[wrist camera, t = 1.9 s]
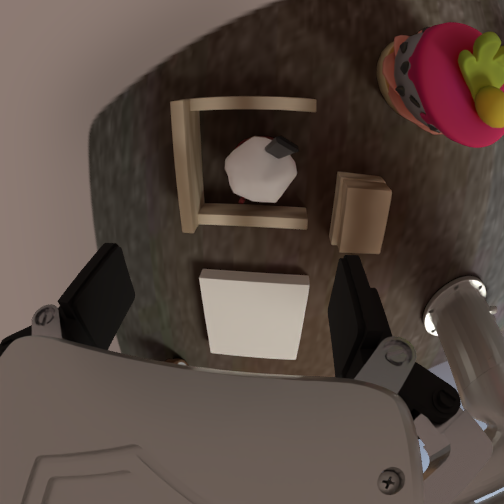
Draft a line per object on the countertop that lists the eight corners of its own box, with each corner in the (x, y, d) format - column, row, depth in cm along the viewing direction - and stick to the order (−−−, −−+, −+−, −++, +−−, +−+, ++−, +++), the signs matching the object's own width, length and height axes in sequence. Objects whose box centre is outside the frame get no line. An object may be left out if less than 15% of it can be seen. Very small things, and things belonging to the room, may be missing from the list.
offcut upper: (384, 182, 26) (392, 191, 24) (374, 242, 30) (379, 254, 28) (343, 179, 27) (347, 187, 25) (336, 240, 31) (339, 252, 29)
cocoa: (251, 199, 32) (233, 266, 22) (214, 158, 29) (176, 210, 20) (320, 152, 28) (338, 203, 18) (284, 105, 25) (282, 127, 16)
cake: (465, 115, 22) (556, 153, 10) (392, 136, 25) (470, 185, 13) (436, 30, 17) (526, 17, 5) (356, 45, 21) (421, 15, 8)
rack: (313, 98, 25) (319, 100, 20) (305, 217, 32) (308, 239, 28) (188, 98, 26) (170, 101, 22) (195, 212, 33) (182, 232, 29)
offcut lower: (378, 175, 28) (385, 182, 26) (367, 236, 33) (372, 247, 31) (336, 170, 29) (340, 177, 27) (328, 233, 33) (331, 244, 31)
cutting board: (308, 275, 36) (309, 285, 35) (295, 350, 45) (295, 359, 43) (202, 268, 38) (199, 277, 36) (213, 343, 46) (211, 352, 45)
